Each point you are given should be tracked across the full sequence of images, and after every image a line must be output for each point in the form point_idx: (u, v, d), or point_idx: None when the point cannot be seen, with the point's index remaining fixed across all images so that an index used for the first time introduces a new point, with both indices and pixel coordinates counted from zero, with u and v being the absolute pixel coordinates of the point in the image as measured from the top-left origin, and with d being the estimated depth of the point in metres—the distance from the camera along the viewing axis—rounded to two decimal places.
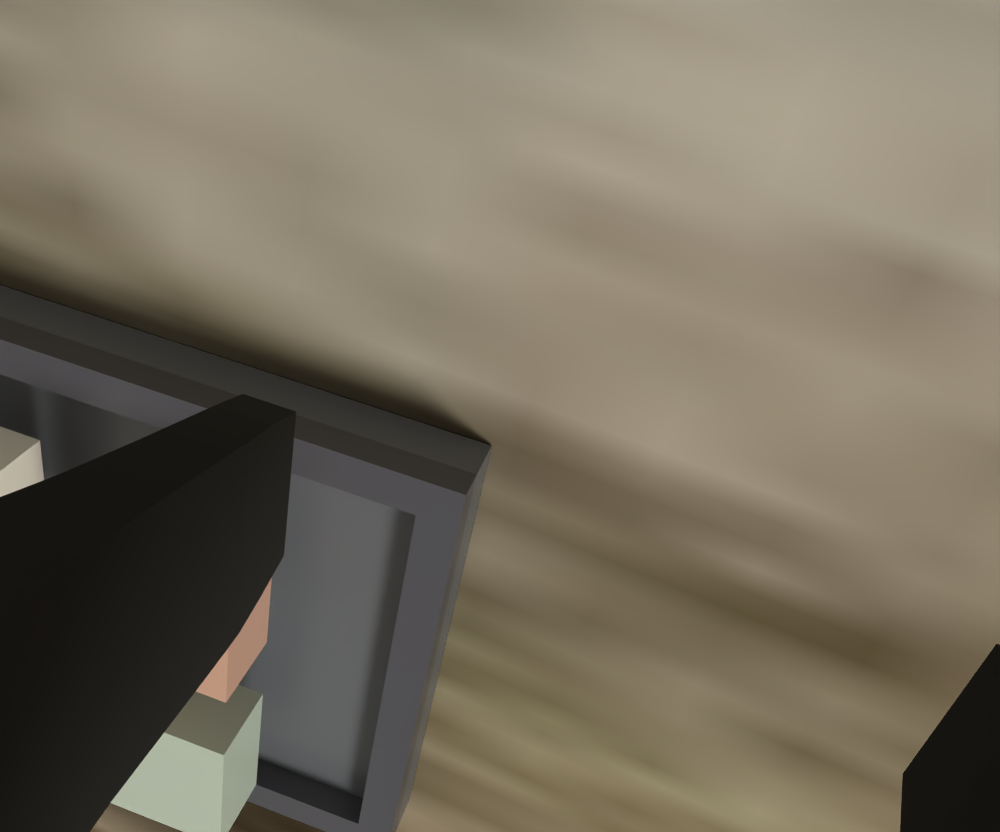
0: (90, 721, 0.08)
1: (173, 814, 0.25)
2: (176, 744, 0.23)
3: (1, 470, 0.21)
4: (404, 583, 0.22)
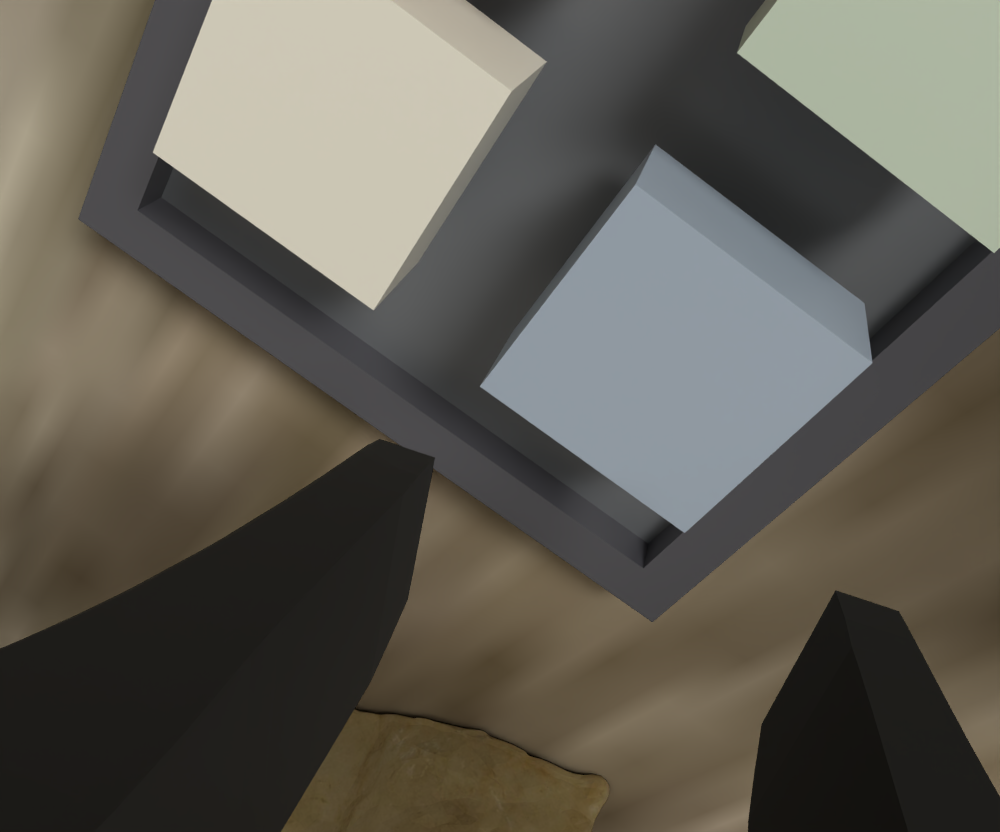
0: (259, 786, 0.07)
1: None
2: None
3: None
4: None
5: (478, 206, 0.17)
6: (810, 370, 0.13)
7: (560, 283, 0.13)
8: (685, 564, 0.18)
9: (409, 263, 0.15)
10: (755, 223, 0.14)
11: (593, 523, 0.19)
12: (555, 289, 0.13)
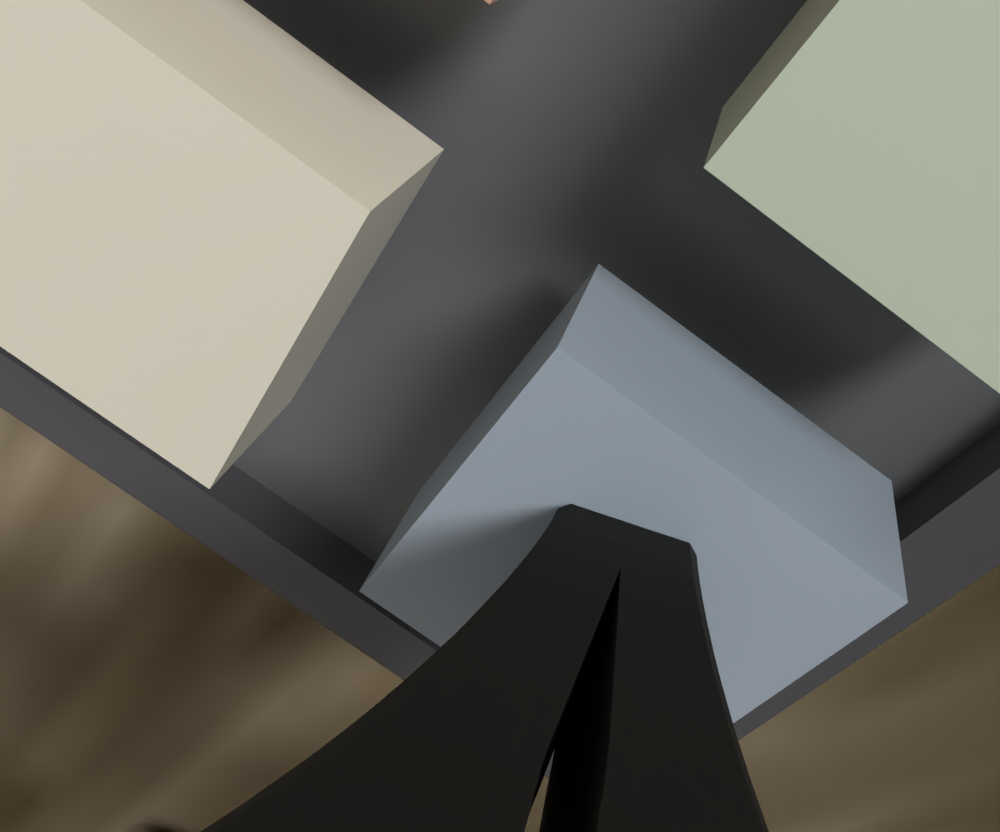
0: None
1: None
2: None
3: None
4: None
5: (378, 319, 0.13)
6: (816, 605, 0.09)
7: (458, 471, 0.09)
8: None
9: (263, 419, 0.11)
10: (739, 374, 0.10)
11: None
12: (452, 478, 0.09)
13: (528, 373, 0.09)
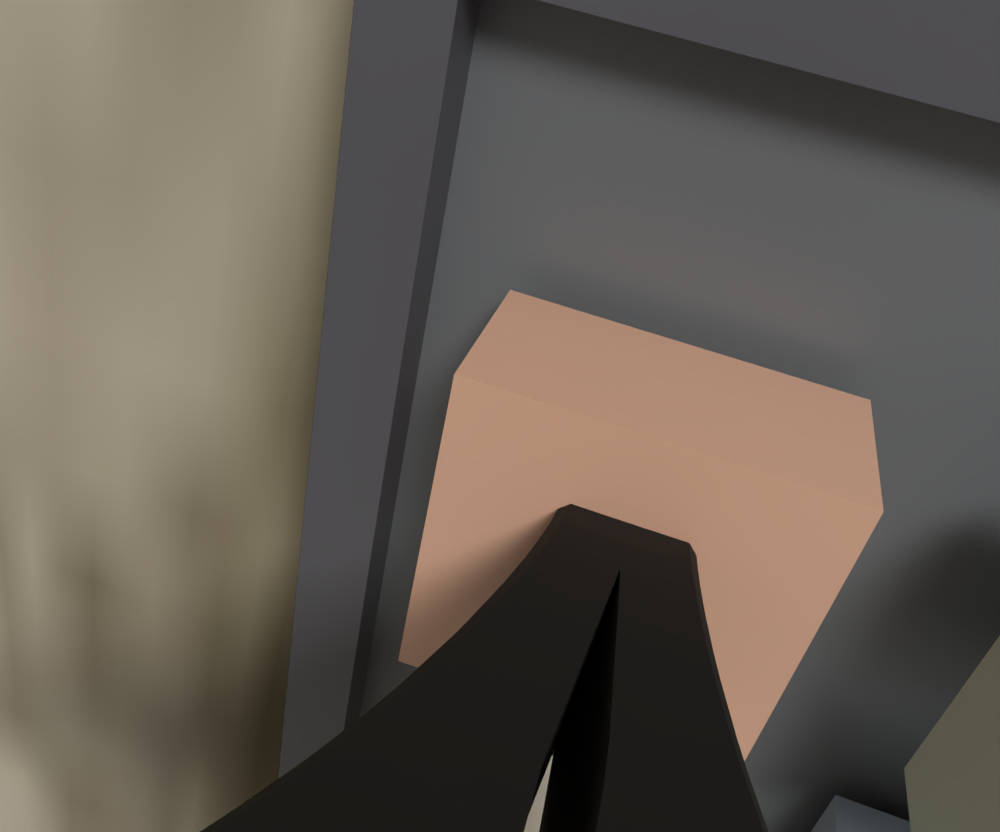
0: None
1: None
2: None
3: None
4: (686, 35, 0.08)
5: None
6: None
7: None
8: None
9: None
10: None
11: None
12: None
13: None
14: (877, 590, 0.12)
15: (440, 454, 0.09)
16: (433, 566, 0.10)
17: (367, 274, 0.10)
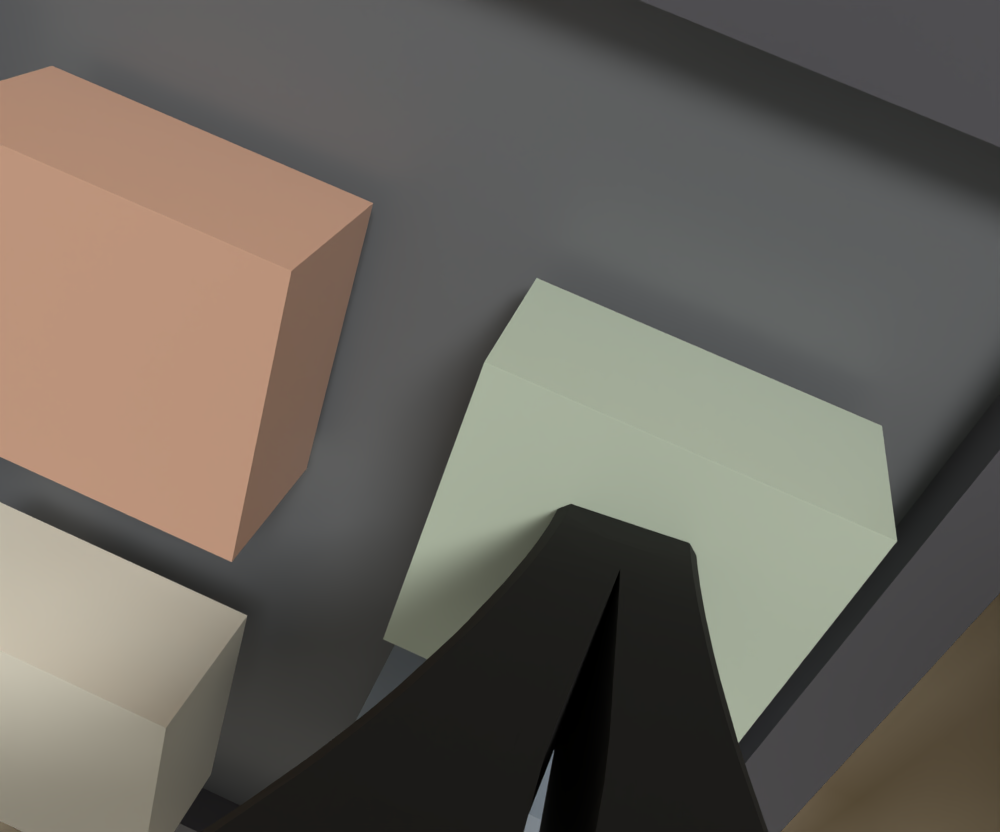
0: None
1: (757, 610, 0.09)
2: (472, 476, 0.09)
3: None
4: None
5: (273, 685, 0.16)
6: None
7: None
8: None
9: (173, 819, 0.14)
10: None
11: None
12: None
13: None
14: (423, 416, 0.12)
15: None
16: None
17: None
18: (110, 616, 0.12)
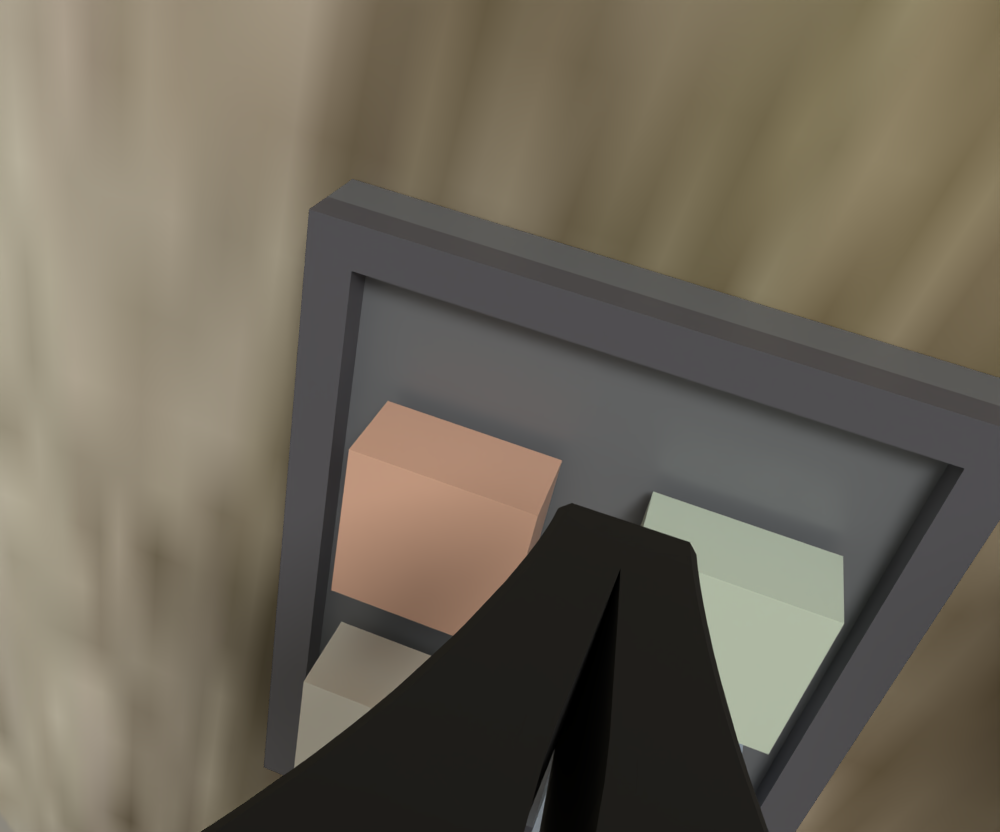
0: None
1: (782, 659, 0.18)
2: None
3: (318, 658, 0.22)
4: (450, 301, 0.18)
5: None
6: None
7: None
8: None
9: None
10: None
11: None
12: None
13: None
14: None
15: (345, 484, 0.19)
16: (345, 540, 0.20)
17: (314, 393, 0.20)
18: None
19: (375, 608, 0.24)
